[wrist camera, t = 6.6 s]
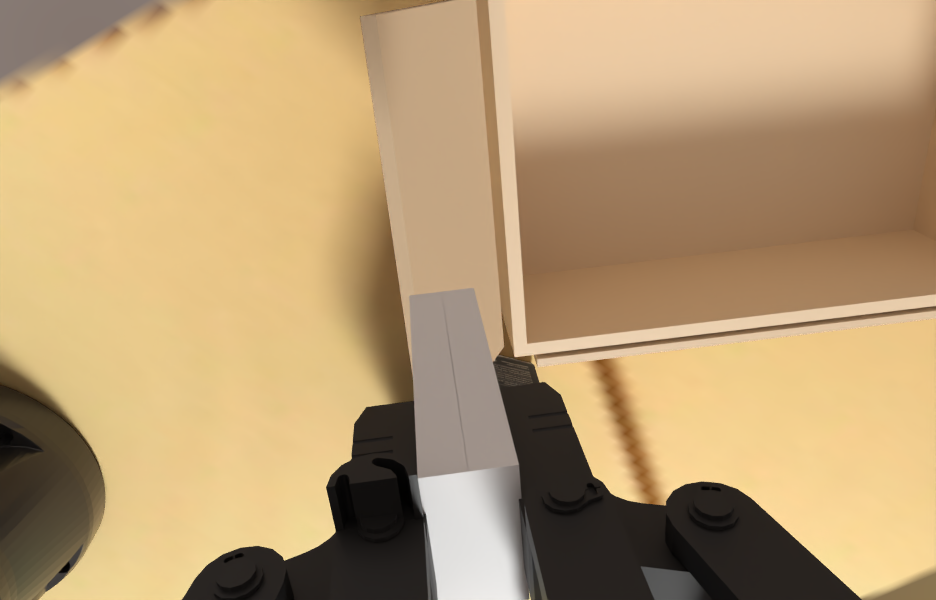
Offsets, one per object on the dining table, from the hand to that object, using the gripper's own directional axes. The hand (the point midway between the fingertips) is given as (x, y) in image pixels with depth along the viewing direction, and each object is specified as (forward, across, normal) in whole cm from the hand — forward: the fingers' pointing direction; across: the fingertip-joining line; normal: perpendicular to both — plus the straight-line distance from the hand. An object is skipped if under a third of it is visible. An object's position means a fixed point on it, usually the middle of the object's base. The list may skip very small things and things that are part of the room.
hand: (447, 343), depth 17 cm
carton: (+21, +15, 0) cm, 26 cm away
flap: (+12, +2, 0) cm, 13 cm away
